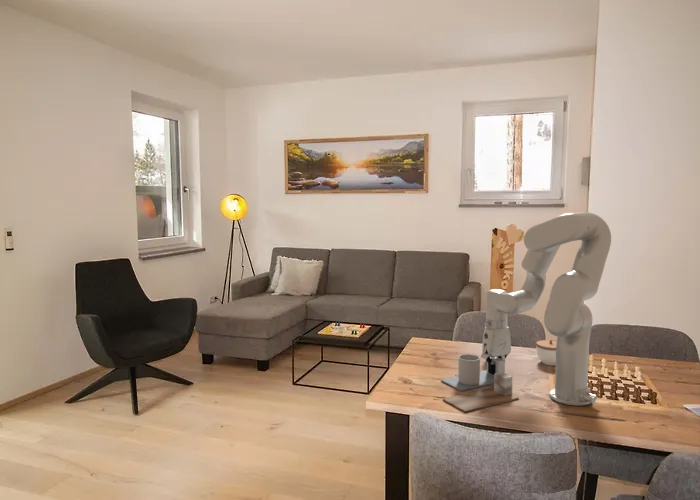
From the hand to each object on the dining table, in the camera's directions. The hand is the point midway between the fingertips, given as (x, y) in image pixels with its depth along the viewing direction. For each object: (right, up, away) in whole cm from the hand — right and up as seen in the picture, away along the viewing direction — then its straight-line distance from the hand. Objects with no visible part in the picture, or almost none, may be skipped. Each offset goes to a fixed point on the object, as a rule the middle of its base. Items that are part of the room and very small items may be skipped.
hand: (495, 372), depth 182 cm
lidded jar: (+26, 0, +14) cm, 30 cm away
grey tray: (-8, -2, -4) cm, 10 cm away
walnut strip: (-11, -4, -21) cm, 24 cm away
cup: (-11, -2, -6) cm, 13 cm away
